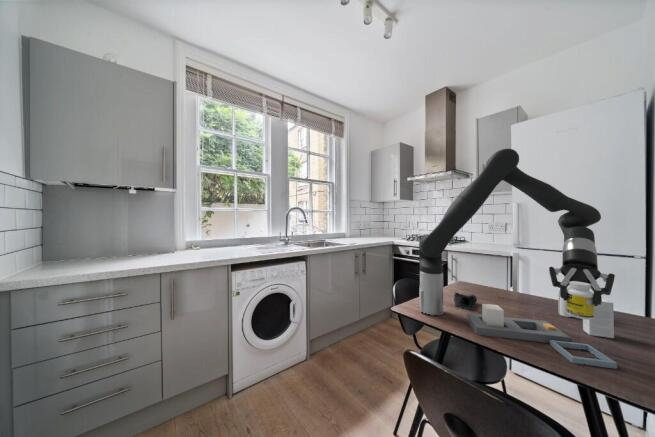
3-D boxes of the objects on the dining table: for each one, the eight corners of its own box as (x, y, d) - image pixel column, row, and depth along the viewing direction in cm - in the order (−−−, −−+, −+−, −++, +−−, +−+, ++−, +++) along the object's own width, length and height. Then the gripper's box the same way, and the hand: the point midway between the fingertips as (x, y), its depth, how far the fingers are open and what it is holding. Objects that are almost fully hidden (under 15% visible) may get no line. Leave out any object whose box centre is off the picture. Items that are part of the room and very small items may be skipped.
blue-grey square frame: (572, 362, 65) (572, 357, 65) (549, 344, 74) (549, 339, 74) (617, 368, 62) (617, 363, 62) (588, 349, 71) (588, 344, 71)
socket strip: (476, 334, 81) (476, 311, 81) (466, 319, 92) (466, 299, 92) (569, 345, 73) (569, 320, 73) (546, 327, 85) (546, 305, 85)
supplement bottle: (561, 312, 70) (561, 280, 70) (577, 311, 71) (577, 280, 71) (582, 320, 65) (582, 286, 65) (599, 319, 66) (599, 285, 65)
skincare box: (605, 333, 81) (605, 298, 81) (614, 338, 77) (614, 302, 77) (581, 329, 83) (581, 296, 83) (589, 335, 79) (589, 300, 79)
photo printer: (563, 309, 101) (563, 281, 101) (577, 312, 98) (577, 283, 98) (556, 314, 96) (556, 285, 96) (571, 318, 92) (571, 287, 92)
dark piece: (472, 314, 100) (479, 308, 108) (476, 297, 99) (483, 292, 108) (450, 305, 106) (458, 300, 115) (453, 289, 106) (462, 285, 114)
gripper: (548, 245, 78) (545, 289, 70) (615, 250, 68) (621, 301, 60) (548, 259, 82) (546, 302, 74) (613, 265, 72) (618, 316, 63)
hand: (580, 301), depth 67 cm, fingers closed on supplement bottle, 5 cm apart
